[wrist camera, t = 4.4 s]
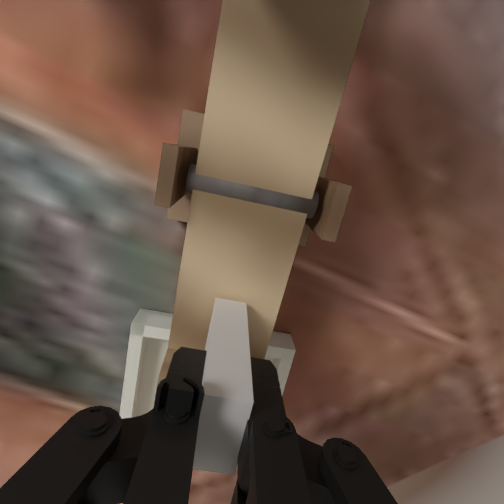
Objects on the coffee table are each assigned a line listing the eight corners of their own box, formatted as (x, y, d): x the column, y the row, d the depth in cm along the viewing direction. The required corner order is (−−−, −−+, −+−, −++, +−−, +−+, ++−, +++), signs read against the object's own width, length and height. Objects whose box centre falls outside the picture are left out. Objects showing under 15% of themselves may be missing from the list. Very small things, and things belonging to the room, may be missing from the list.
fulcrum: (187, 112, 19) (158, 89, 12) (326, 145, 20) (376, 142, 13) (171, 213, 20) (138, 245, 13) (300, 240, 21) (331, 282, 14)
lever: (256, -256, 10) (270, -609, 5) (428, -192, 10) (584, -453, 6) (157, 394, 19) (129, 484, 14) (250, 407, 20) (252, 498, 15)
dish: (140, 308, 22) (131, 323, 20) (290, 333, 23) (295, 350, 21) (124, 422, 25) (115, 445, 23) (260, 440, 26) (262, 463, 24)
